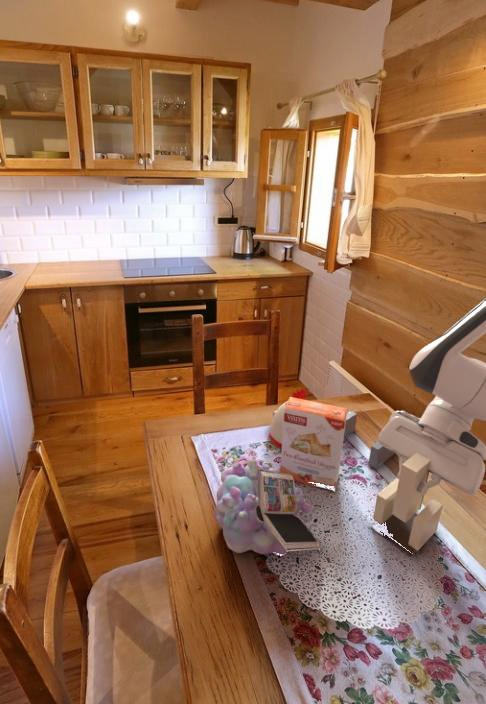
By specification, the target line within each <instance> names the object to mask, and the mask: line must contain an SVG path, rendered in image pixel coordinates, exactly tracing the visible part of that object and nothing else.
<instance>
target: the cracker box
mask: <svg viewBox="0 0 486 704" xmlns="http://www.w3.org/2000/svg"><path fill="white" fill-rule="evenodd" d="M287 401H288V402H287ZM287 401H286V402H287V405H286V407H285V413H284V425H283V439H282V449H281V452H280V467H279V473H284V474H289V475H292V477H293V479H294V482H297V483H300V484H304V485H308V486H311V487H315V486H316V484H312V483H308V482H314V483H320V484H324V485H329V486H334V487H336V488H337V486H338V480H339V474H340V468H341V461H342V453H343V447H344V439H345V437H344V432H345V424H346V417H347V413H348V408H346V407H341V406H336V405H332V404H326V403H322V402H317V401H316V402H315V401H311V400H308V399H305V400H303V399H298V398H293V396H290V397H288V400H287ZM314 485H315V486H314ZM336 485H337V486H336Z"/></svg>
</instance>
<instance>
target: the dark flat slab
mask: <svg viewBox="0 0 486 704" xmlns="http://www.w3.org/2000/svg"><path fill="white" fill-rule="evenodd" d="M417 515H418V513H417V512H416V513H415V514H414V515H413V516H412V517H411V518H410V519H409V520H408V521H407V522H406V523H405V522H403V521H402V520H400V519H399V518H397V517H396V516H394V515H391V516H390V517H389V518H388V519H387V520H386V521H385V522H386V526H387V530H388V533H389V534H390V533H391V534H393V537H392V536H391V537H392V538H393V539H394V540H396V541H397V542H398V543H400V544H401V545H402V546H403V547H405V548H406V549H407V550H409V551H410V552H411V553H410V552H409V551H407V550H406V549H405V548H403V547H402V546H400V545H399V544H398V543H396V542H395V541H394V540H392V539H391V538H389V537H388V536H387V535H385V536H384V533H383V532H381V531H380V532H381V533H383V536H382V537H383V539H385V540H387V541H388V542H389V543H391V544H392V545H394V546H395V547H396V548H398V549H399V550H400V551H402V552H403V553H404V554H406V555H407V556H409V558H412V557H414V556H415V554H416V553H417V552H418V551H417V550H416V549H414V548H413V547H411V546H410V545H409V544H408V543H409V539H410V534H411V530H412V525H413V520H414V518H415V517H416V516H417ZM385 522H384V524H385ZM384 526H385V525H384ZM412 553H413V554H412Z"/></svg>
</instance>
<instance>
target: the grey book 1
mask: <svg viewBox="0 0 486 704" xmlns="http://www.w3.org/2000/svg"><path fill="white" fill-rule="evenodd" d="M357 421H358V413H356V411H353V410H351V411H349V412H347V417H346V424H345V432H344V438H346V437H347V436H349V435H350V434H353V433H354V432H356V426H357Z"/></svg>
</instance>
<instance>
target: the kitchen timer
mask: <svg viewBox="0 0 486 704" xmlns="http://www.w3.org/2000/svg"><path fill="white" fill-rule="evenodd" d="M307 393H308V391H306V390H304V388H301V389H300V390H296V392H295V391H293V392H292V397H293V398H298V399H303V400H306V397H307ZM287 402H288V400H287V401H285V402H284V403H282V404H281V405H280V406H279V407H278V408H277V410H273V412H272V419H271V421H270V425H269V433H268V435H269V439H270V442H271V443H272V444H273V445H274V446H276V447H277V448H279V449H281V450H282V439H283V425H284V413H285V407H286V405H287Z"/></svg>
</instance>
